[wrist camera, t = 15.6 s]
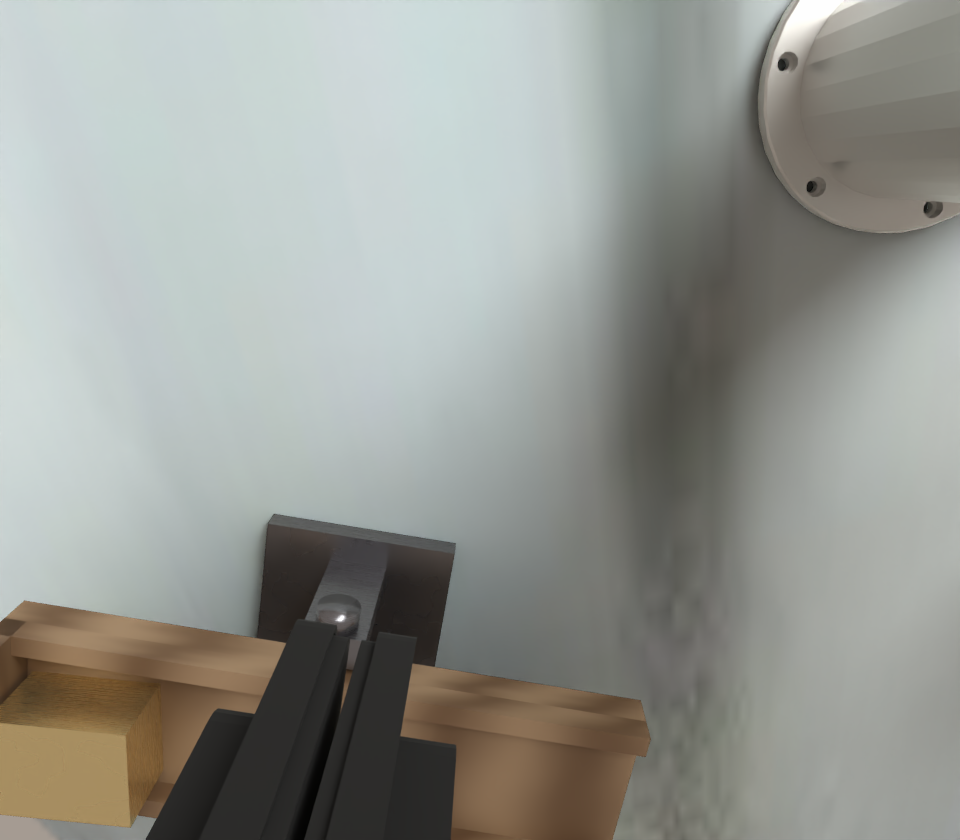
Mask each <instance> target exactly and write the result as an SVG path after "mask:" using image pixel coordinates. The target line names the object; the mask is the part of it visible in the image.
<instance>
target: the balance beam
mask: <svg viewBox="0 0 960 840" xmlns="http://www.w3.org/2000/svg"><path fill="white" fill-rule="evenodd" d="M285 645H286V643H283V642H277V641H270V640H264V639H258V638H252V637H246V636H240V635H233V634H227V633H221V632H215V631H209V630H202V629H196V628H190V627H184V626H178V625H172V624H165V623H159V622H153V621H147V620H141V619H135V618H128V617H122V616H116V615H110V614H104V613H97V612H91V611H85V610H79V609H73V608H67V607H60V606H54V605H48V604H42V603H36V602H30V601H23V602H22V603H21V604H20V605H19V606H18V607H17V608H15V609H14V610H13V611H12V612H11V613H10V614H9V615H8V616H7V617H5V618H4V619H3V620H2V621H1V622H0V705H1V704H2V703H3V702H4V701H5V700H6V699H7V698H8V697H9V696H10V695H11V694H12V693H13V692H14V691H15V690H16V688H17V687H18V686H19V685H20V684H21V683H22V682H23V681H24V680H25V679H26V678H27V677H28V676H29V675H30V674H31V673H32V671H39V672H49V673H58V674H68V675H78V676H88V677H98V678H108V679H118V680H128V681H138V682H148V683H158V684H160V688H161V716H162V745H163V771H162V773H161V775H160V776H159V778H158V780H157V782H156V784H155V785H154V787H153V789H152V791H151V792H150V794H149V796H148V798H147V799H146V801H145V803H144V805H143V806H142V808H141V810H140V812H139V813H138V815H139V816H145V817H152V818H157V817H158V815H159V813H160V811H161V810H162V808H163V806H164V804H165V802H166V800H167V798H168V796H169V794H170V792H171V790H172V789H173V787H174V785H175V783H176V781H177V779H178V777H179V775H180V773H181V771H182V769H183V768H184V766H185V764H186V762H187V760H188V758H189V756H190V754H191V752H192V750H193V748H194V747H195V745H196V743H197V741H198V739H199V737H200V735H201V733H202V731H203V729H204V727H205V726H206V724H207V722H208V720H209V718H210V717H211V715H212V714H213V712H214V711H215V710H216V709H218V708H220V709H227V710H233V711H240V712H246V713H253V714H255V712H256V710H257V708H258V705H259V703H260V701H261V699H262V696H263V694H264V692H265V690H266V687H267V685H268V683H269V681H270V678H271V676H272V674H273V672H274V669H275V667H276V665H277V663H278V661H279V658H280V656H281V654H282V652H283V649H284V647H285ZM352 671H353V670H349V669H346V675H345V683H344V690H343V697H342V705H341V710H342V706H343V703H344V699H345V696H346V692H347V689H348V685H349V682H350V678H351V675H352ZM340 713H341V712H340ZM400 736H403V737H409V738H416V739H422V740H429V741H435V742H442V743H448V744H455V745H456V768H455V782H454V797H453V812H452V827H451V840H612V839H613V835H614V832H615V828H616V825H617V821H618V818H619V814H620V811H621V807H622V804H623V800H624V797H625V793H626V790H627V786H628V783H629V779H630V776H631V772H632V769H633V765H634V762H635V758H636V756H642V757H646V754H647V751H648V747H649V744H650V740H651V738H650V734H649V730H648V727H647V723H646V719H645V715H644V711H643V708H642V704H641V700H635V699H629V698H623V697H616V696H610V695H604V694H598V693H592V692H585V691H579V690H573V689H567V688H561V687H555V686H548V685H542V684H536V683H530V682H524V681H518V680H511V679H505V678H499V677H493V676H487V675H480V674H474V673H468V672H462V671H456V670H450V669H443V668H437V667H431V666H425V665H419V664H412V670H411V676H410V682H409V688H408V694H407V700H406V706H405V712H404V718H403V724H402V730H401V735H400Z"/></svg>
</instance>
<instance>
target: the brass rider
mask: <svg viewBox="0 0 960 840" xmlns="http://www.w3.org/2000/svg"><path fill="white" fill-rule="evenodd" d="M162 771H163V745H162V716H161V688H160V684H158V683H148V682H138V681H128V680H118V679H108V678H98V677H88V676H78V675H68V674H58V673H49V672H39V671H32V673H31V674H30V675H29V676H28V677H27V678H26V679H25V680H24V681H23V682H22V683H21V684H20V685H19V686H18V687H17V688H16V690H15V691H14V692H13V693H12V694H11V695H10V696H9V697H8V698H7V699H6V700H5V701H4V702H3V703H2V704H1V705H0V815H10V816H20V817H30V818H40V819H50V820H60V821H70V822H80V823H90V824H100V825H110V826H120V827H130V828H131V826H132V824H133V822H134V820H135V819H136V817H137V815H138V813H139V812H140V810H141V808H142V806H143V805H144V803H145V801H146V799H147V798H148V796H149V794H150V792H151V791H152V789H153V787H154V785H155V784H156V782H157V780H158V778H159V776H160V775H161V773H162Z"/></svg>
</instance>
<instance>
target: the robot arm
mask: <svg viewBox="0 0 960 840" xmlns="http://www.w3.org/2000/svg"><path fill="white" fill-rule="evenodd" d="M780 59H782V60H784V61H785V63H786V67H785V69H784V70H783V71H780V70H779V69H778V61H779V60H780ZM758 117H759V129H760V133H761V137H762V141H763V145H764V149H765V153H766V155H767V157H768V159H769V161H770V164H771V166H772V168H773V170H774V172H775V174H776V176H777V178H778V179H779V180H780V182H781V183H782V184H783V185H784V187H785V188H786V189H787V191H788V192H789V193H790V195H791V196H792V197H793V198H794V199H796V200H797V201H798V202H799V203H800V204H801V205H803V206H804V207H805V208H806V209H807V210H808V211H810V212H811V213H813V214H815V215H817V216H819V217H820V218H822V219H824V220H826V221H828V222H830V223H832V224H835V225H838V226H842V227H845V228H849V229H852V230H856V231H865V232H871V233H903V232H908V231H912V230H917V229H922V228H927V227H930V226H933V225H935V224H938V223H940V222H943V221H945V220H948V219H950V218H952V217H955V216H957V215H958V214H960V0H793V1H792V2H791V4H790V5H789V6H788V8H787V9H786V11H785V12H784V14H783V16H782V18H781V20H780V22H779V24H778V26H777V28H776V30H775V32H774V34H773V36H772V38H771V40H770V42H769V46H768V49H767V52H766V56H765V59H764V62H763V65H762V69H761V75H760V83H759V91H758ZM809 181H811V182H812V183H813V184H814V186H813V189H812V191H810V192H807V191H806V188H807V184H808V182H809ZM926 203H927V205H928V206H927V210H926V211H925V212H923V209H924V205H925V204H926ZM416 640H417V637H410V636H404V635H398V634H391V633H385V632H379V633H378V636H377V640H376V642H373V641H367V640H362V641H361V644H360V647H359V650H358V654H357V657H356V661H355V664H354V668H353V671H352V675H351V678H350V682H349V685H348V689H347V692H346V696H345V699H344V703H343V706H342V710H341V705H342V697H343V690H344V683H345V675H346V668H347V661H348V653H349V646H350V638H348V637H341V636H337V625H334V624H328V623H322V622H315V621H309V620H303V619H298V620H297V621H296V623H295V625H294V627H293V629H292V631H291V634H290V636H289V638H288V640H287V643H286V645H285V647H284V649H283V652H282V654H281V656H280V658H279V661H278V663H277V665H276V667H275V669H274V672H273V674H272V676H271V678H270V681H269V683H268V685H267V687H266V690H265V692H264V694H263V696H262V699H261V701H260V703H259V705H258V708H257V710H256V712H255V714H253V713H246V712H240V711H233V710H227V709H220V708H218V709H216V710H215V711H214V712H213V714H212V715H211V717H210V718H209V720H208V722H207V724H206V726H205V727H204V729H203V731H202V733H201V735H200V737H199V739H198V741H197V743H196V745H195V747H194V748H193V750H192V752H191V754H190V756H189V758H188V760H187V762H186V764H185V766H184V768H183V769H182V771H181V773H180V775H179V777H178V779H177V781H176V783H175V785H174V787H173V789H172V790H171V792H170V794H169V796H168V798H167V800H166V802H165V804H164V806H163V808H162V810H161V811H160V813H159V815H158V817H157V819H156V821H155V823H154V825H153V827H152V829H151V831H150V832H149V834H148V836H147V838H146V840H451V827H452V812H453V797H454V782H455V768H456V745H455V744H448V743H442V742H435V741H429V740H422V739H416V738H409V737H403V736H400V735H401V730H402V724H403V718H404V712H405V706H406V700H407V694H408V688H409V682H410V676H411V670H412V664H413V658H414V652H415V646H416ZM340 712H341V713H340Z"/></svg>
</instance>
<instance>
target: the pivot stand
mask: <svg viewBox="0 0 960 840" xmlns="http://www.w3.org/2000/svg"><path fill="white" fill-rule="evenodd" d="M455 545H456V543H449V542H443V541H437V540H431V539H425V538H419V537H412V536H406V535H400V534H394V533H388V532H382V531H375V530H369V529H363V528H357V527H351V526H345V525H338V524H332V523H326V522H320V521H314V520H308V519H302V518H295V517H289V516H283V515H277V514H274V515H273V517H272V518H271V520H270V521H269V523H268V528H267V539H266V549H265V560H264V571H263V582H262V592H261V603H260V614H259V625H258V635H257V638H258V639H264V640H270V641H277V642H283V643H287V640H288V638H289V636H290V634H291V631H292V629H293V627H294V625H295V623H296V621H297V620H298V619H303V620H309V621H315V622H322V623H328V624H334V625H337V636H341V637H348V638H350V646H349V653H348V661H347V668H346V669H349V670H353V668H354V664H355V661H356V657H357V654H358V650H359V647H360V644H361V641H362V640H367V641H373V642H376V640H377V636H378V633H379V632H385V633H391V634H398V635H404V636H410V637H417V640H416V646H415V652H414V658H413V664H419V665H425V666H431V667H435V661H436V655H437V650H438V644H439V639H440V633H441V627H442V622H443V616H444V611H445V605H446V599H447V594H448V588H449V582H450V577H451V571H452V566H453V560H454V554H455Z"/></svg>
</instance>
